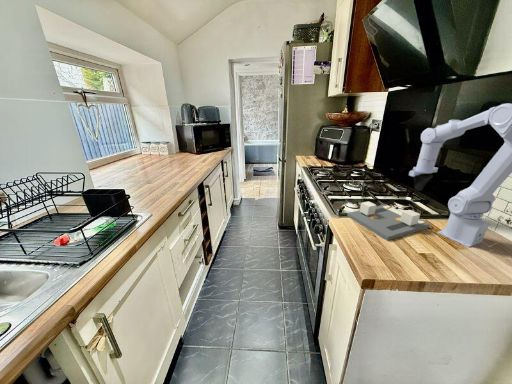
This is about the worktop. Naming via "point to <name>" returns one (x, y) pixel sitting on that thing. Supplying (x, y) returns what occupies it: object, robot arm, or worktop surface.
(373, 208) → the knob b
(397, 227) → the switch unit
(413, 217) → the white cube
